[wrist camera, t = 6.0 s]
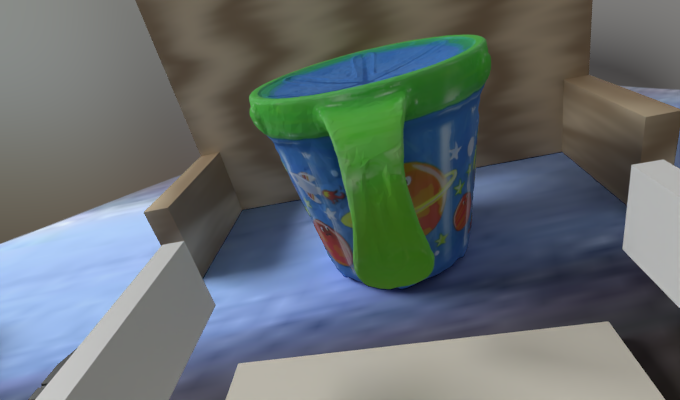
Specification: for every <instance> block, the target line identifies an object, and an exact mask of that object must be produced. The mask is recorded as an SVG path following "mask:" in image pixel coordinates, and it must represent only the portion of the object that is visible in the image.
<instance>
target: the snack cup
mask: <svg viewBox="0 0 680 400" xmlns="http://www.w3.org/2000/svg"><path fill="white" fill-rule="evenodd" d="M490 71H491V56H490V54H489V53H488V47H487V42H486V39H485V38H483V37H482V36H479V35H464V34H463V35H445V36H439V37H430V38H423V39H416V40H410V41H405V42H399V43H394V44H389V45H385V46H380V47H376V48H371V49H367V50H363V51H359V52H355V53H352V54H348V55H344V56H340V57H337V58H334V59H330V60H327V61H323V62H320V63H317V64H314V65H311V66H308V67H305V68H302V69H299V70H297V71H294V72H291V73H288V74H286V75H283V76H281V77H278V78H276V79H274V80H272V81H269V82H267V83H265V84H263V85H261V86H260V87H258V88H256V89H255V90H254V91H253V92H252V93H251V94H250V96H249V102H250V106H251V108H250V117H251V119H252V121H253V123H254V124H255V126H256V127H257V128H258V129H259V130H260V131H261V132H263V133H264V134H265V135H267V137H268V138H270V139H271V140H272V141H273V143H274V145H275V148H276V150H277V152H278V153H279V155H280V157H281V161H282V163H283V165H284V167H285V169H286V171H287V172H288V174H289V176H290V179H291V181H292V183H293V185H294V187H295V189H296V191H297V193H298V195H299V197H300V199H301V201H302V203H303V205H304V207H305V208H306V211H307V212H308V214H309V216H310V217H311V219H312V221H313V224H314V226H315V228H316V230H317V232H318V234H319V236H320V238H321V240H322V242H323V244H324V246H325V249H326V250H327V253H328V255H329V257H330V258H331V260H332V261H333V263H334V264H335V265H336V267H337V269H338V270H339V271H340V272H341V273H342V274H343V276H344V277H350V278H353V279H354V280H356V281H360V282H363V283H364V284H366V285H368V286H371V287H376V288H380V289H393V288H396V287H398V288H399V289H404V288H408V287H410V286H412V285H415V284H416V283H418V282H420V281H422V280H425V279H427V278H430V277H432V276H435V275H437V274H440V273H441V272H442V271H444V270H446V269H448V268H449V267H451V266H452V265H453V264H454V262H455V261H456V260H457V259H458V258H461V257H463V256H464V255H465V252H466V250H467V247H468V241H469V234H470V229H471V223H472V200H473V189H474V180H475V168H476V153H477V139H478V124H479V112H478V107H479V102H480V94H481V92H482V90H483V88H484V86H485V83H486V80H487V79H488V77H489V74H490Z"/></svg>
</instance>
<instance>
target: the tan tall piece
mask: <svg viewBox="0 0 680 400" xmlns="http://www.w3.org/2000/svg"><path fill="white" fill-rule="evenodd" d="M136 3H137V5H138V7H139V10H140V12H141V15H142V17H143V19H144V22H145V24H146V26H147V29H148V31H149V34H150V36H151V38H152V41H153V43H154V46H155V48H156V50H157V53H158V55H159V58H160V60H161V62H162V65H163V67H164V69H165V72H166V74H167V77H168V79H169V81H170V84H171V86H172V88H173V91H174V93H175V96H176V98H177V100H178V103H179V105H180V107H181V110H182V112H183V115H184V117H185V119H186V122H187V124H188V126H189V129H190V131H191V134H192V136H193V138H194V141H195V143H196V145H197V148H198V150H199V153H200V155H201V157H200V158H199V159H198V160H197V161H196V162H195V163H193V165H191V166H190V167H189V168H188V169H187V170H186V171H185V172H184V173H183V174H182V175H181V176H180V177H179V178H178V179H177V180H176V181H175V182H174V183H173V184H172V185H171V186H170V187H169V188H168V189H167V190H166V191H165V192H164V193H163V194H162V195H161V196H160V197H159V198H158V199H157V200H156V201H155V202H154V203H153V204H152V205H151V206H150V207H149V208H148V209H146V210H145V211H144V214H145V216H146V218H147V220H148V222H149V224H150V225H151V227H152V229H153V231H154V233H155V235H156V237H157V239H158V241H159V242H160V244H161V246H162V245H164V244H169V243H175V242H181V241H184V242H185V244H186V246H187V248H188V250H189V252H190V254H191V256H192V258H193V261H194V263H195V265H196V267H197V269H198V271H199V273H200V275H201V277H202V278H203V277H204V275H205V273H206V272H207V270H208V268H209V267H210V265H211V263H212V261H213V260H214V258H215V256H216V254H217V253H218V251H219V249H220V248H221V246H222V244H223V242H224V241H225V239H226V237H227V236H228V234H229V232H230V230H231V229H232V227H233V225H234V223H235V222H236V220H237V218H238V217H239V215H240V213H241V211H242V210H245V209H250V208H256V207H261V206H267V205H272V204H278V203H283V202H289V201H294V200H300V197H299V195H298V193H297V191H296V189H295V187H294V185H293V183H292V181H291V179H290V176H289V174H288V172H287V171H286V169H285V167H284V165H283V163H282V161H281V157H280V155H279V153H278V152H277V150H276V148H275V145H274V143H273V141H272V140H271V139H270V138H268V137H267V135H265V134H264V133H263V132H261V131H260V130H259V129H258V128H257V127H256V126H255V124H254V123H253V121H252V119H251V117H250V108H251V106H250V102H249V96H250V94H251V93H252V92H253V91H254V90H255V89H256V88H258V87H260V86H261V85H263V84H265V83H267V82H269V81H272V80H274V79H276V78H278V77H281V76H283V75H286V74H288V73H291V72H294V71H297V70H299V69H302V68H305V67H308V66H311V65H314V64H317V63H320V62H323V61H327V60H330V59H334V58H337V57H340V56H344V55H348V54H352V53H355V52H359V51H363V50H367V49H371V48H376V47H380V46H385V45H389V44H394V43H399V42H405V41H410V40H416V39H423V38H430V37H439V36H445V35H463V34H464V35H479V36H482V37H483V38H485V39H486V42H487V47H488V53H489V54H490V56H491V71H490V74H489V77H488V79H487V80H486V83H485V86H484V88H483V90H482V92H481V94H480V102H479V107H478V112H479V124H478V139H477V153H476V167H481V166H487V165H492V164H497V163H503V162H508V161H514V160H519V159H525V158H530V157H536V156H541V155H547V154H552V153H558V152H563V153H564V154H565V155H567V156H568V157H569V158H570V159H571V160H573V161H574V162H575V163H576V164H578V165H579V166H580V167H581V168H582V169H584V170H585V171H586V172H587V173H588V174H590V175H591V176H592V177H593V178H594V179H596V180H597V181H598V182H599V183H600V184H602V185H603V186H604V187H605V188H607V189H608V190H609V191H610V192H611V193H613V194H614V195H615V196H616V197H617V198H619V199H620V200H621V201H622V202H623V203H625V204H626V205H627V202H628V193H629V184H630V175H631V165H634V164H640V163H645V162H651V161H657V160H663V159H664V160H665V161H667V162H669V163H671V164H672V165H674V162H675V155H676V149H677V143H678V137H679V131H680V109H678V108H676V107H673V106H670V105H668V104H665V103H662V102H660V101H657V100H654V99H652V98H649V97H646V96H644V95H641V94H639V93H636V92H633V91H631V90H628V89H625V88H623V87H620V86H617V85H615V84H612V83H609V82H607V81H604V80H601V79H599V78H596V77H593V76H591V75H589V60H590V39H591V38H590V37H591V19H592V18H591V17H592V0H136Z"/></svg>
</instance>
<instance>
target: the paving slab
mask: <svg viewBox="0 0 680 400" xmlns="http://www.w3.org/2000/svg"><path fill="white" fill-rule="evenodd" d="M226 400H665V399H664V397H663V396H662V395H661V393H660V392H659V390H658V389H657V388H656V386H655V385H654V384H653V382H652V381H651V379H650V378H649V377H648V375H647V374H646V373H645V371H644V370H643V368H642V367H641V366H640V364H639V363H638V361H637V360H636V359H635V357H634V356H633V355H632V353H631V352H630V350H629V349H628V348H627V346H626V345H625V344H624V342H623V341H622V339H621V338H620V337H619V335H618V334H617V333H616V331H615V330H614V328H613V327H612V326H611V324H610V323H609V322H599V323H591V324H582V325H573V326H564V327H555V328H547V329H538V330H529V331H520V332H511V333H503V334H494V335H485V336H476V337H468V338H459V339H450V340H441V341H432V342H424V343H415V344H406V345H397V346H388V347H380V348H371V349H362V350H353V351H345V352H336V353H327V354H318V355H309V356H301V357H292V358H283V359H274V360H265V361H257V362H248V363H239V364H238V366H237V369H236V372H235V375H234V378H233V380H232V383H231V386H230V389H229V392H228V395H227V397H226Z"/></svg>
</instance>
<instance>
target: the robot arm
mask: <svg viewBox="0 0 680 400" xmlns="http://www.w3.org/2000/svg"><path fill="white" fill-rule="evenodd" d="M622 249H623V250H624V251H625V252H626V253H627V255H628V256H629V257H630V258H631V259H632V260H633V261H634V262H635V263H636V264H637V265H638V266H639V267H640V268H641V269H642V270H643V271H644V272H645V273H646V274H647V275H648V276H649V277H650V278H651V279H652V280H653V281H654V282H655V283H656V284H657V285H658V286H659V287H660V288H661V289H662V290H663V291H664V292H665V293H666V295H667V296H668V297H669V298H670V299H671V300H672V301H673V302H674V303H675V304H676V305H677V306H678V307H679V308H680V169H679V168H678V167H676V166H674V165H672V164H671V163H669V162H667V161H665V160H664V159H663V160H657V161H651V162H645V163H640V164H634V165H631V175H630V184H629V193H628V202H627V211H626V221H625V230H624V239H623V248H622ZM215 306H216V305H215V303H214V301H213V299H212V297H211V295H210V293H209V291H208V289H207V287H206V285H205V283H204V281H203V279H202V277H201V275H200V273H199V271H198V269H197V267H196V265H195V263H194V261H193V258H192V256H191V254H190V252H189V250H188V248H187V246H186V244H185V242H184V241H181V242H175V243H169V244H164V245H162V246H161V247H160V248H159V250H158V251H157V252H156V253H155V254H154V256H153V257H152V258H151V259H150V261H149V262H148V263H147V264H146V265H145V267H144V268H143V269H142V270H141V271H140V273H139V274H138V275H137V276H136V278H135V279H134V280H133V281H132V282H131V284H130V285H129V286H128V287H127V288H126V290H125V291H124V292H123V293H122V295H121V296H120V297H119V298H118V299H117V301H116V302H115V303H114V304H113V306H112V307H111V308H110V309H109V310H108V312H107V313H106V314H105V315H104V316H103V318H102V319H101V320H100V321H99V323H98V324H97V325H96V326H95V327H94V329H93V330H92V331H91V332H90V333H89V335H88V336H87V337H86V338H85V340H84V341H83V342H82V343H81V344H80V346H79V347H78V348H77V349H76V350H74V351H73V352H72V353H71V354H70V355H68V356H67V357H66V358H65V359H64V360H63V361H61V362H60V363H59V364H58V365H57V366H56V367H55V368H54V369H53V371H52V372H51V373H50V374H49V375H48V377H47V378H46V379H45V380H44V381H43V383H42V384H41V385H42V386H41V388H38V389H37V390H36V391H35V392H34V393H33V394H32V396H31V397H30V398H29V399H28V400H169V399H170V396H171V394H172V392H173V390H174V388H175V386H176V384H177V382H178V380H179V378H180V376H181V374H182V372H183V370H184V368H185V366H186V364H187V362H188V360H189V358H190V356H191V354H192V352H193V350H194V348H195V346H196V344H197V342H198V340H199V338H200V336H201V334H202V332H203V330H204V328H205V326H206V324H207V322H208V320H209V318H210V316H211V314H212V312H213V310H214V308H215Z"/></svg>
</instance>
